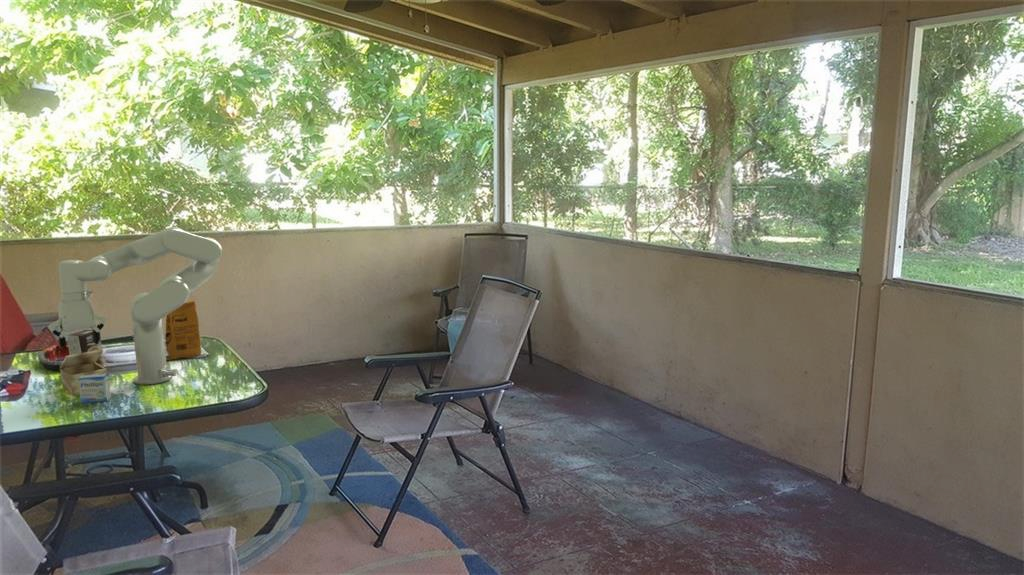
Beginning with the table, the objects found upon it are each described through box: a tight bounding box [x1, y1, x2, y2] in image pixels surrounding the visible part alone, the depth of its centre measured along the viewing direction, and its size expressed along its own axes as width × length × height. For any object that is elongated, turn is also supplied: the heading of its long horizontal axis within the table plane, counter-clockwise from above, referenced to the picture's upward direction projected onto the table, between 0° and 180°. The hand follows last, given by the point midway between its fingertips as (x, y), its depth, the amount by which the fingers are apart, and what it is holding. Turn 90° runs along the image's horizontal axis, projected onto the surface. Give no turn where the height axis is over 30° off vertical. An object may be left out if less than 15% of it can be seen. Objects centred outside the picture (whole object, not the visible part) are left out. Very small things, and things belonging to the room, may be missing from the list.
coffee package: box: [164, 299, 202, 360], centre depth 283 cm, size 10×12×22 cm
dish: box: [37, 344, 69, 371], centre depth 275 cm, size 16×31×5 cm, turn 35°
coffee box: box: [66, 329, 105, 368], centre depth 259 cm, size 9×6×16 cm
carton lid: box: [60, 348, 104, 369], centre depth 243 cm, size 11×12×1 cm
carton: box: [59, 362, 108, 397], centre depth 244 cm, size 11×12×7 cm
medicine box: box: [78, 372, 112, 404], centre depth 231 cm, size 8×4×9 cm, turn 105°
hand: (80, 345), depth 241 cm, fingers open, 9 cm apart
